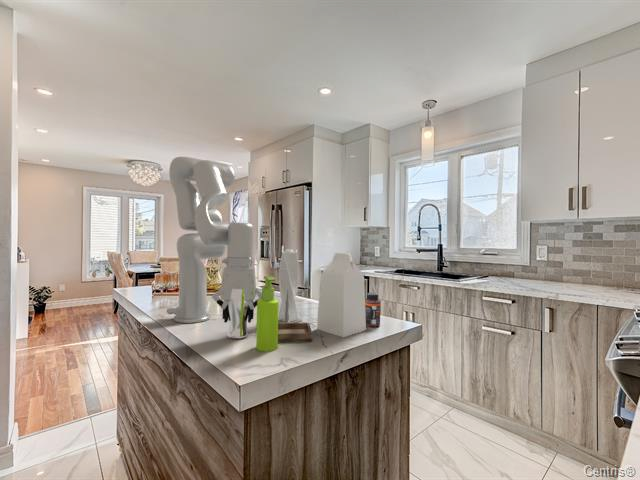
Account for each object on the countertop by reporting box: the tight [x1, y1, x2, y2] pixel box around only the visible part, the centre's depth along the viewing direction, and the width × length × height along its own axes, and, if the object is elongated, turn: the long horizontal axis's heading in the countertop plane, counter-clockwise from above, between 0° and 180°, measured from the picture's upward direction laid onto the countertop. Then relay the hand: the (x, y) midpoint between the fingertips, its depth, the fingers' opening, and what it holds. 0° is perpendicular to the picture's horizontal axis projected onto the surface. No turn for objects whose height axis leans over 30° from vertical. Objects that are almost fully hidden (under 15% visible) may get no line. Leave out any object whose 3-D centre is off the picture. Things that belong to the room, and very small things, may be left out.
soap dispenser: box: [255, 275, 280, 352], centre depth 88 cm, size 6×7×20 cm
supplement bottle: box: [365, 292, 382, 328], centre depth 114 cm, size 6×6×11 cm
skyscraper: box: [278, 245, 302, 323], centre depth 118 cm, size 8×8×28 cm
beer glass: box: [226, 288, 249, 339], centre depth 97 cm, size 7×7×15 cm
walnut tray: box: [278, 322, 313, 343], centre depth 100 cm, size 12×12×2 cm
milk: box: [316, 252, 367, 338], centre depth 108 cm, size 12×12×26 cm
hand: (238, 320), depth 98 cm, fingers closed on beer glass, 6 cm apart
